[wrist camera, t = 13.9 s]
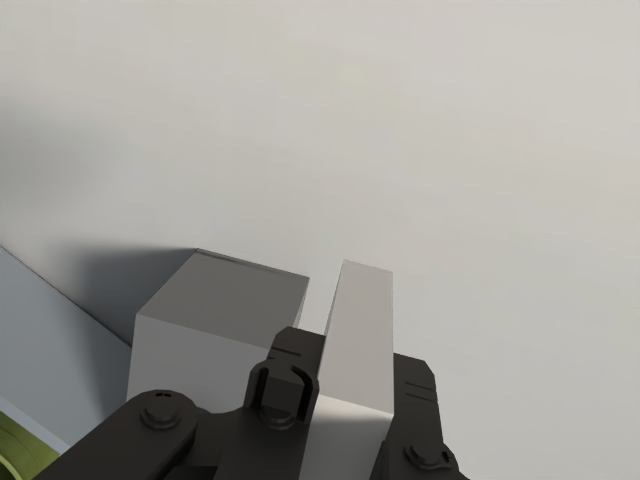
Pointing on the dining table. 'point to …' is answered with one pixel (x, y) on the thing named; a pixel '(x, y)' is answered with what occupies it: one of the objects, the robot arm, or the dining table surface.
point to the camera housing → (212, 329)
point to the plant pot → (21, 451)
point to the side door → (55, 360)
